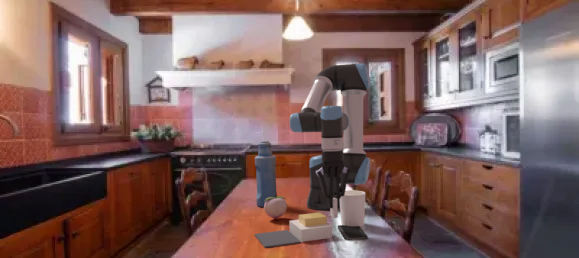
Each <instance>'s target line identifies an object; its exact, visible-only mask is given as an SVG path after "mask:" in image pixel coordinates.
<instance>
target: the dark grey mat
mask: <svg viewBox="0 0 579 258" xmlns="http://www.w3.org/2000/svg"><path fill="white" fill-rule="evenodd" d="M254 236H255V238H256V239H257V240H258V241H259V243H260V244H261V245H262V246H263V247H264V248H265V249H267V248H274V247H281V246H288V245H296V244H301V243H302V242H301V241H300V240H299V239H297V238H296V237H295V236H294V235H293V234H292V233H291V232H290V230H288V229H284V230H274V231H268V232H259V233H254Z"/></svg>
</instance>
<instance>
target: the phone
mask: <svg viewBox="0 0 579 258" xmlns="http://www.w3.org/2000/svg"><path fill="white" fill-rule="evenodd" d="M337 229H338V231H339V233H340V235H341V237H342V238H343V240H344V241H362V240H365V241H367V240H368V237H369V236H368V235H367V234H366V232H365V231H364V230H363V228H362V227H360V226H346V225H342V224H340V225H337Z"/></svg>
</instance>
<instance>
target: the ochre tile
mask: <svg viewBox="0 0 579 258" xmlns="http://www.w3.org/2000/svg"><path fill="white" fill-rule="evenodd" d="M298 220H299V222H300V223H301V224H302V225H304V226H313V225H321V224H327V223H328V218H327V215H325V214H323V213H322V212H312V213H304V214H298Z"/></svg>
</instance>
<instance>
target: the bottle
mask: <svg viewBox="0 0 579 258" xmlns="http://www.w3.org/2000/svg"><path fill="white" fill-rule="evenodd" d="M257 153H258V154H257V156H255V157H254V166H255V171H256V172H255V174H256V179H255V180H256V196H255V197H256V198H255V199H256V206H257V207H259V208H264V204H265V202H266V201H267V200H266V199H267V198H269V197H274V198H275V194H276V197H278V193H277V177H276V176H277V174H276V173H277V172H276V170H277V157H276V155H273V151H272V142H270V141H269V140H260V141H259V142H258V151H257ZM265 200H266V201H265Z"/></svg>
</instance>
